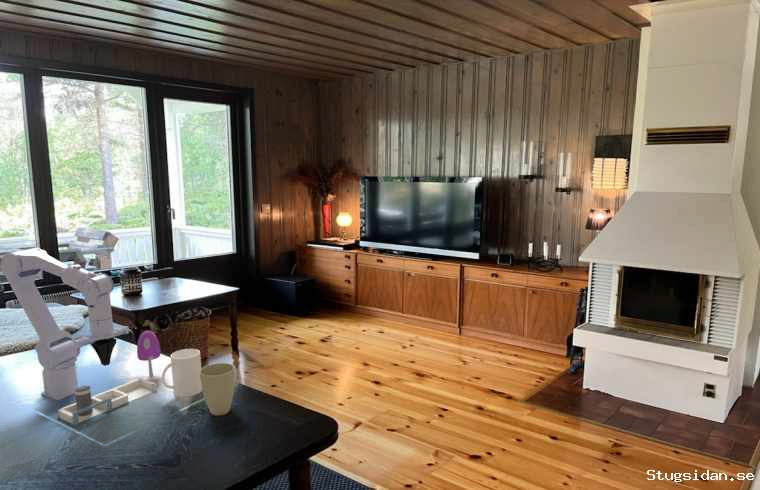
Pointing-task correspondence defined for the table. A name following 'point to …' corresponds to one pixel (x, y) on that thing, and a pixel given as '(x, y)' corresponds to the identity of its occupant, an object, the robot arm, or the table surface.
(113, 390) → the compartment tray
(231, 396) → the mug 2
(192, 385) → the mug
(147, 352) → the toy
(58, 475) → the table surface
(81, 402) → the plug
